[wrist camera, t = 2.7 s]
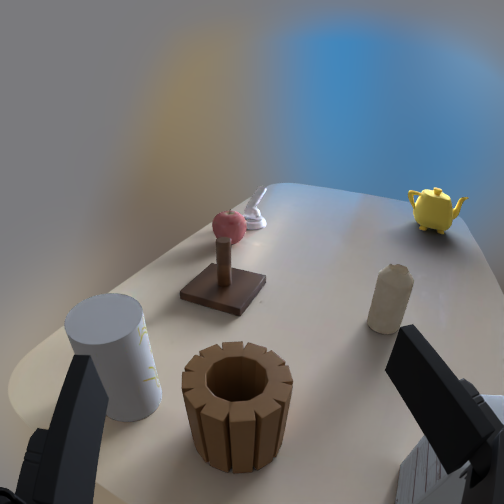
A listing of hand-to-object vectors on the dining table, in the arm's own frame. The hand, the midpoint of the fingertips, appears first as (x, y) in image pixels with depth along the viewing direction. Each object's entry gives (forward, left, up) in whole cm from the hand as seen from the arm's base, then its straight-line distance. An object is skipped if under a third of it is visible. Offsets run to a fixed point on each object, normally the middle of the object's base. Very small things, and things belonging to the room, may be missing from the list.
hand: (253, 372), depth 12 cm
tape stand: (-18, +33, -20) cm, 43 cm away
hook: (-26, +64, -20) cm, 72 cm away
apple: (-26, +51, -20) cm, 61 cm away
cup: (-18, +7, -20) cm, 28 cm away
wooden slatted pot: (-4, +8, -20) cm, 22 cm away
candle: (+9, +34, -20) cm, 40 cm away
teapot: (+24, +88, -20) cm, 93 cm away
